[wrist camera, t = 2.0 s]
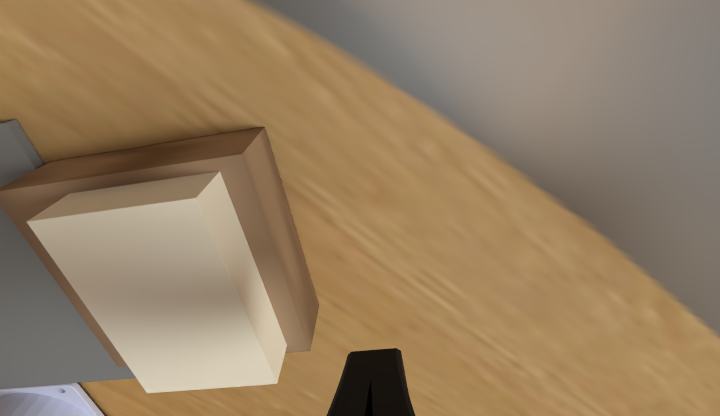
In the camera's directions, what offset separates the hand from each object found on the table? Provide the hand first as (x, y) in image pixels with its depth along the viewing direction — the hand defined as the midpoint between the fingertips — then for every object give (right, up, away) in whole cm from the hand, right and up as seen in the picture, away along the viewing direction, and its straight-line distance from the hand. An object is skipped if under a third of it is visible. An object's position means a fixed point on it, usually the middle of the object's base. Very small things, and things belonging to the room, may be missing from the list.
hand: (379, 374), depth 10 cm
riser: (-8, +3, +8) cm, 12 cm away
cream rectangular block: (-8, +2, +6) cm, 10 cm away
